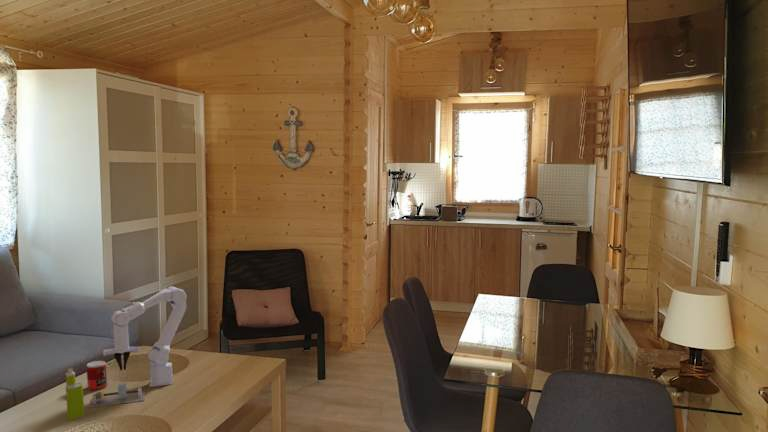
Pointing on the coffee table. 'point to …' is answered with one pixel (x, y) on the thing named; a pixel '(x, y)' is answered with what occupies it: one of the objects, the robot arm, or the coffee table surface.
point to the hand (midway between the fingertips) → (123, 369)
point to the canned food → (96, 375)
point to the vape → (74, 396)
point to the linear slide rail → (116, 398)
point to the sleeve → (122, 390)
